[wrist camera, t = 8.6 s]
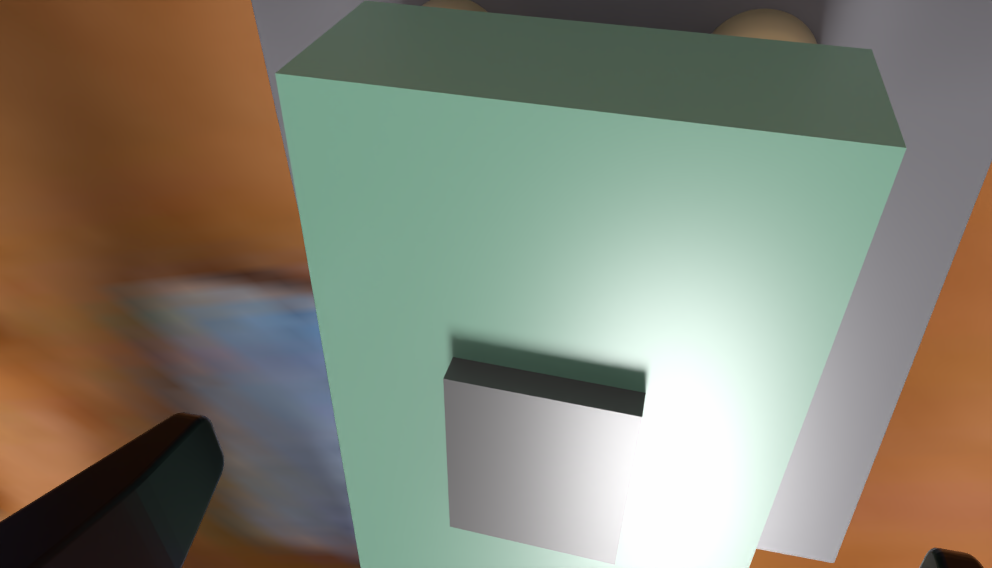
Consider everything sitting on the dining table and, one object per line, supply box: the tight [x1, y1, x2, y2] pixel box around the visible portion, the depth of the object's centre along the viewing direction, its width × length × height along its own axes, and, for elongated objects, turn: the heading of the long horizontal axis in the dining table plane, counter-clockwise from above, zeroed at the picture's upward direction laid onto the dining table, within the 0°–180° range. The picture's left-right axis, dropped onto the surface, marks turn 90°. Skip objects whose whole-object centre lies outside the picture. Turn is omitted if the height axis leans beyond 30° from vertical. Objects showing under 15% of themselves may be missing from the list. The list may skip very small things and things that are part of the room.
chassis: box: [251, 0, 992, 563], centre depth 13 cm, size 14×11×3 cm
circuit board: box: [275, 1, 906, 568], centre depth 11 cm, size 10×6×3 cm, turn 0°
